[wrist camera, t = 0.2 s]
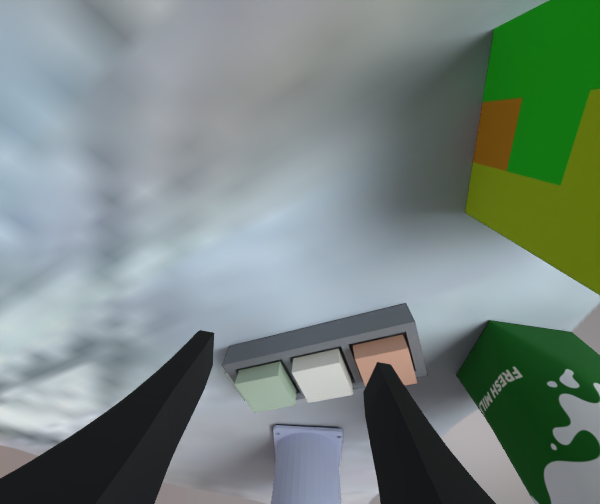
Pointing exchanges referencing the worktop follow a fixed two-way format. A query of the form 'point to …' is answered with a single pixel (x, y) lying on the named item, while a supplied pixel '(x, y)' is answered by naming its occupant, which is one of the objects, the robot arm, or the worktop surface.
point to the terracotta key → (385, 358)
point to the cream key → (322, 376)
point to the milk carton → (541, 407)
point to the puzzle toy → (543, 137)
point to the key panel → (328, 344)
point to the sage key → (266, 387)
